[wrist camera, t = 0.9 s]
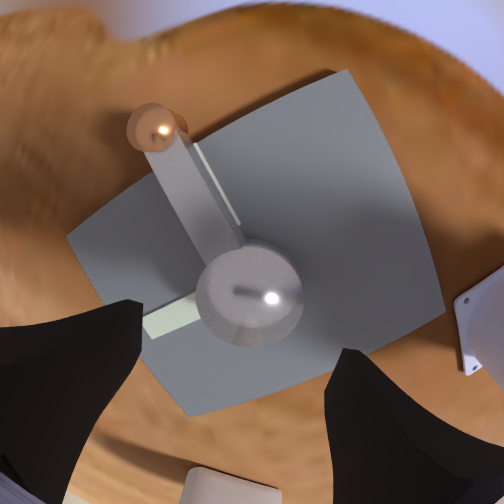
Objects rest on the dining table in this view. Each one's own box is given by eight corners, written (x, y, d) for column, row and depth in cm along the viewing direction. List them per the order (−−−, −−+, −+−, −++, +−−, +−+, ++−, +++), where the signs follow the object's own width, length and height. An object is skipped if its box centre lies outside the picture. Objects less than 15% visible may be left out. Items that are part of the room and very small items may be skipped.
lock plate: (343, 74, 14) (351, 63, 12) (439, 305, 17) (452, 318, 15) (74, 233, 18) (56, 239, 16) (192, 409, 21) (185, 426, 19)
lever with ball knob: (316, 305, 16) (322, 327, 13) (234, 341, 17) (228, 365, 14) (200, 89, 13) (186, 76, 11) (121, 142, 14) (97, 139, 12)
